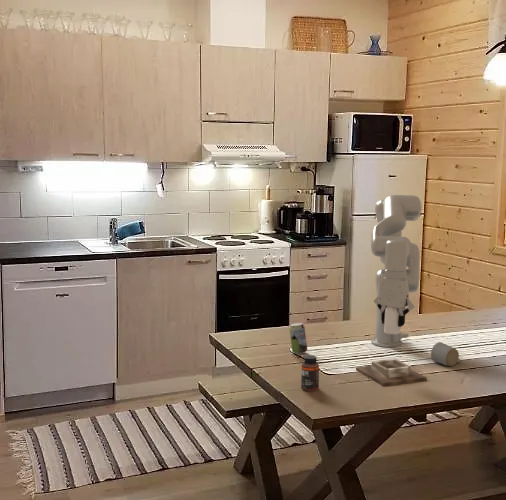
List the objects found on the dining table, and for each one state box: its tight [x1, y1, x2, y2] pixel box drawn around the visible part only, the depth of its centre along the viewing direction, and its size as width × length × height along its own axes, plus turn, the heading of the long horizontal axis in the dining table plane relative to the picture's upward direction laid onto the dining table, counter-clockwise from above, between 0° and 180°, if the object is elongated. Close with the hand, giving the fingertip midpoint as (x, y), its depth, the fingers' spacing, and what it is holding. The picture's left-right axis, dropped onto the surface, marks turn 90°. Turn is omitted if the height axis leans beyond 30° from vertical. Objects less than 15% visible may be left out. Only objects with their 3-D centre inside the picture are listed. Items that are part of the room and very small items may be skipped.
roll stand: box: [355, 358, 427, 387], centre depth 250 cm, size 18×18×4 cm
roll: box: [384, 306, 402, 334], centre depth 247 cm, size 6×12×6 cm
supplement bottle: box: [300, 354, 320, 392], centre depth 234 cm, size 6×6×11 cm
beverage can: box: [288, 322, 308, 355], centre depth 274 cm, size 6×7×12 cm
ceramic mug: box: [430, 342, 461, 367], centre depth 264 cm, size 11×8×8 cm
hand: (392, 323), depth 248 cm, fingers closed on roll, 5 cm apart
